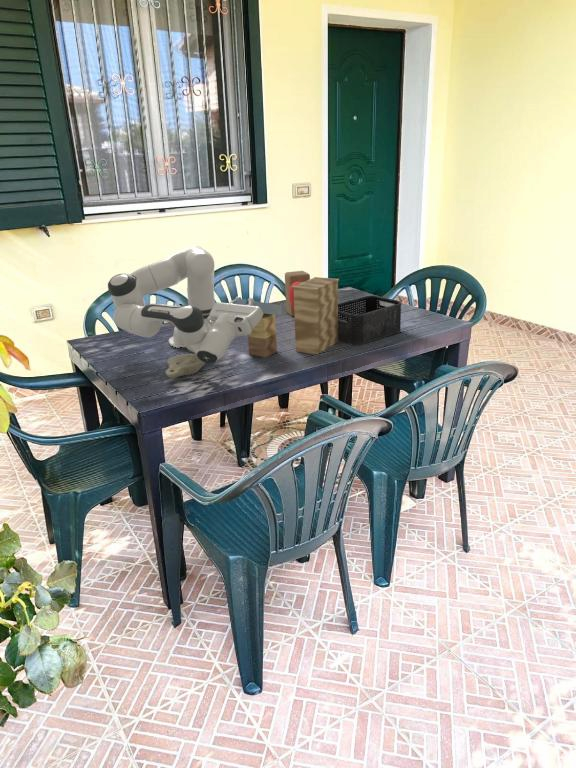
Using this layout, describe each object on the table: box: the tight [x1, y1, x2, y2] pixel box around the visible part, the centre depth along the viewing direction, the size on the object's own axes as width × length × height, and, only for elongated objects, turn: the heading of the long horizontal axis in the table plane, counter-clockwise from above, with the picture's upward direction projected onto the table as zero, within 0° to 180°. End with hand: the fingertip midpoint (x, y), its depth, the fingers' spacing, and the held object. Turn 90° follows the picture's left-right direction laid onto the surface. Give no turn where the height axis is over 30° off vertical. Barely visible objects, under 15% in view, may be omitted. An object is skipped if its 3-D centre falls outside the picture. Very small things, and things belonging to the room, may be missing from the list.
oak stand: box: [293, 276, 340, 355], centre depth 229 cm, size 19×11×26 cm, turn 150°
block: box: [284, 270, 311, 318], centre depth 278 cm, size 10×10×20 cm
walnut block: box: [247, 332, 278, 358], centre depth 227 cm, size 8×8×8 cm
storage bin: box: [338, 295, 402, 346], centre depth 244 cm, size 29×19×13 cm
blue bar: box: [236, 298, 283, 316], centre depth 220 cm, size 26×4×4 cm, turn 149°
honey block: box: [247, 313, 277, 339], centre depth 224 cm, size 8×8×8 cm
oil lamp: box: [165, 353, 206, 379], centre depth 208 cm, size 21×14×5 cm
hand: (245, 298), depth 211 cm, fingers open, 4 cm apart
